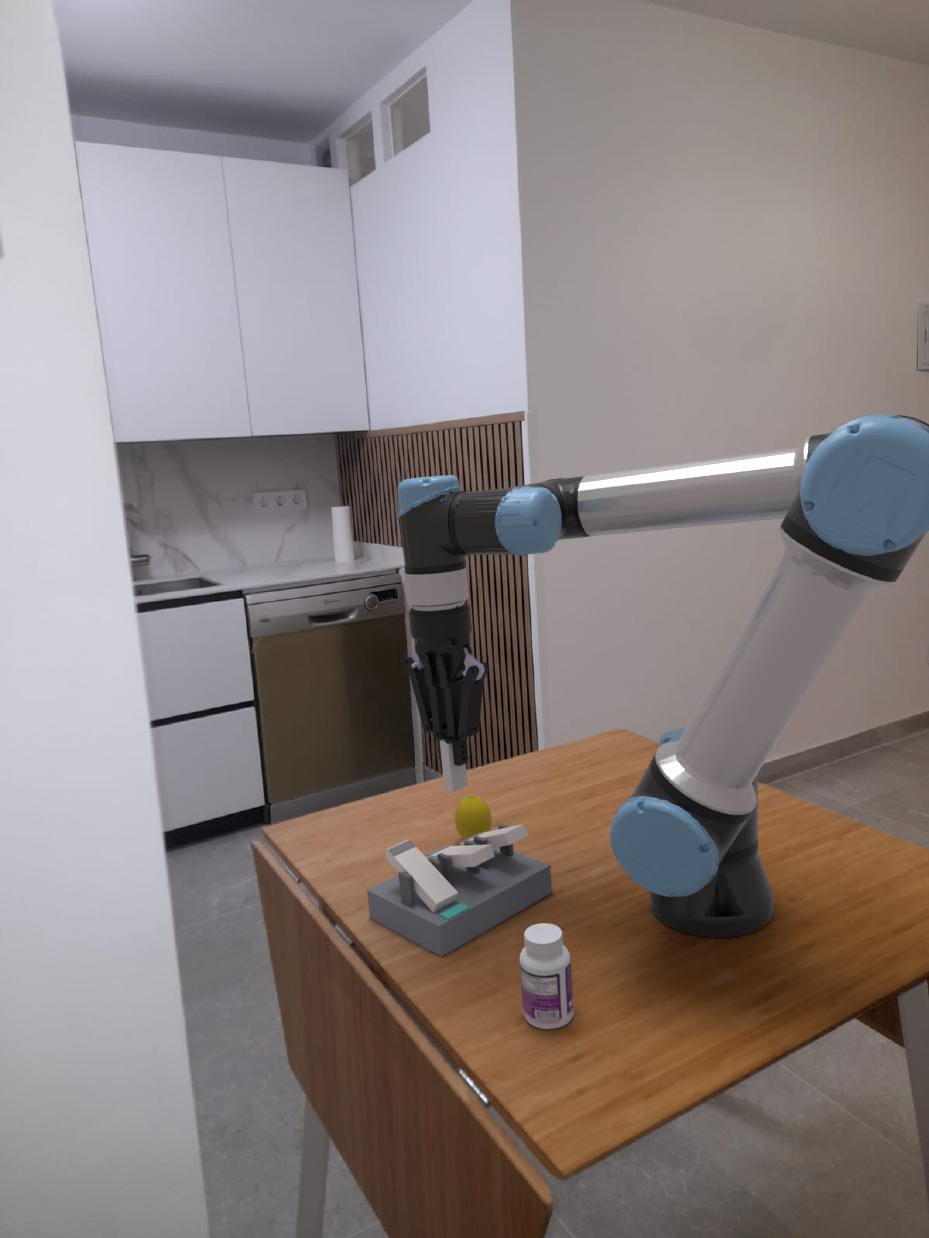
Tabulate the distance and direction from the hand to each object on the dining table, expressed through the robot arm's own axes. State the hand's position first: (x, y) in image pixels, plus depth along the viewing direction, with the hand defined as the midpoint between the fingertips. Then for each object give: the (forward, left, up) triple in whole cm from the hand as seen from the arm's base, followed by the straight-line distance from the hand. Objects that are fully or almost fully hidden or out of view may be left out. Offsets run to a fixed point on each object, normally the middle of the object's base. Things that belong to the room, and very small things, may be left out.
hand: (456, 787), depth 115 cm
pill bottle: (-22, +9, -18) cm, 30 cm away
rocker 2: (+2, -1, -10) cm, 11 cm away
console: (+2, -1, -17) cm, 17 cm away
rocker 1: (+2, +5, -10) cm, 12 cm away
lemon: (+14, -15, -18) cm, 27 cm away
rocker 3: (+2, -7, -10) cm, 13 cm away
